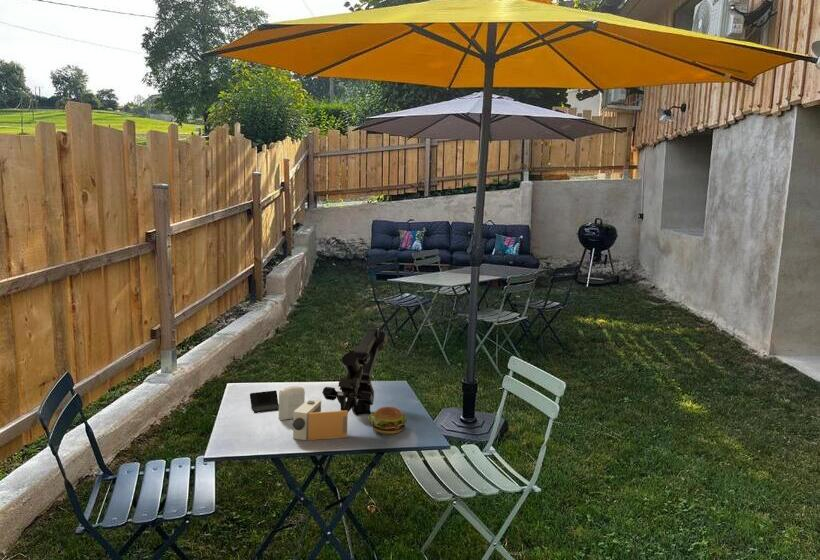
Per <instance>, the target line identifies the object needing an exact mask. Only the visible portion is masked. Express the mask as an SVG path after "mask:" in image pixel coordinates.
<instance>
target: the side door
mask: <svg viewBox="0 0 820 560" xmlns="http://www.w3.org/2000/svg"><path fill="white" fill-rule="evenodd" d="M348 415H349V412H348V411H347V410H346V411H341V410H334V411H333V410H331V411H321V412H315V413H307V440H306V441H313V440H314V441H315V440H326V439H338V438H339V439H340V438H341V439H342V438H348V418H349V417H348Z"/></svg>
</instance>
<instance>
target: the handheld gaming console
mask: <svg viewBox="0 0 820 560" xmlns="http://www.w3.org/2000/svg"><path fill="white" fill-rule="evenodd" d="M249 399H250V400H249V401H250V406H251V407H250V408H251V410H252V412H253V411H254V412H253V413H254V414H258V412H260V413H266V412H268V411H269V412H276V411H279V397H278V393H277V390H269V391H268V390H267V391H260V392H250V393H249Z"/></svg>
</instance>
